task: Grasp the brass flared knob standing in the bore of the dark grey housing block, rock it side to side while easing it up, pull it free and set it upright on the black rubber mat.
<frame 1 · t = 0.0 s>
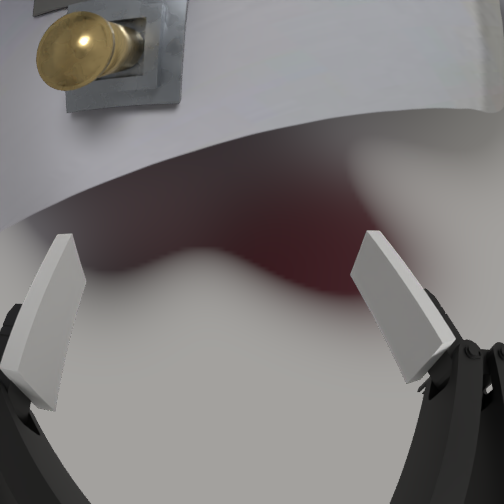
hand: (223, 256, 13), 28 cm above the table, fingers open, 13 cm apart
brass flared knob: (120, 49, 24), point 3 cm above the table, touching housing
housing: (126, 49, 27), on the table
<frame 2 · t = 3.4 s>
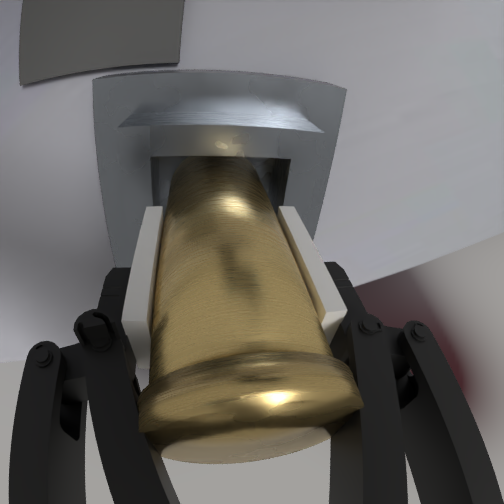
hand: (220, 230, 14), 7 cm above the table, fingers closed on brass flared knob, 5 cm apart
brass flared knob: (215, 190, 18), point 3 cm above the table, touching gripper, housing
housing: (212, 171, 20), on the table
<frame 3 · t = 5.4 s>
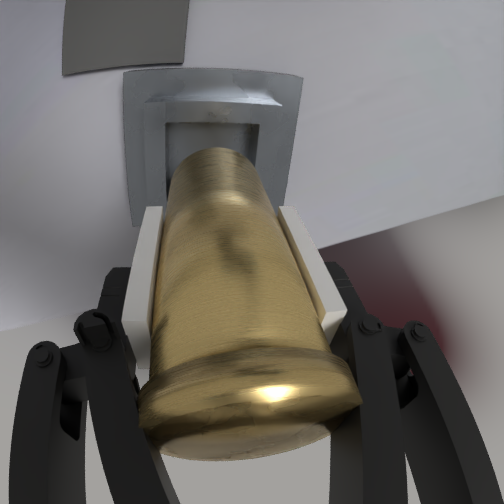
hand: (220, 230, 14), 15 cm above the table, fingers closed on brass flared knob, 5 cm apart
mat: (124, 8, 17), on the table
brass flared knob: (215, 190, 18), point 10 cm above the table, touching gripper
housing: (208, 142, 26), on the table
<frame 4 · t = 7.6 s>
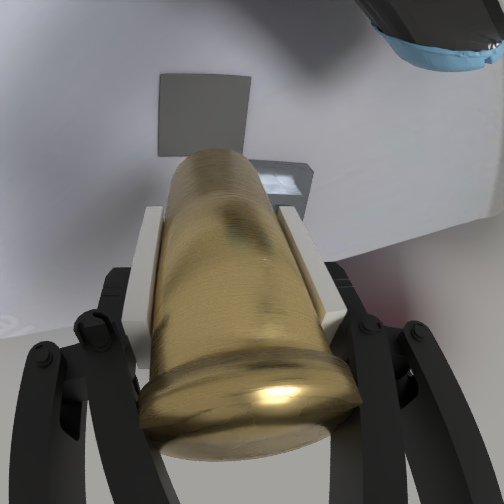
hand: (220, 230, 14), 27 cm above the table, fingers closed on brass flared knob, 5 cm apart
mat: (202, 115, 35), on the table
brass flared knob: (215, 190, 18), point 22 cm above the table, touching gripper
housing: (253, 204, 44), on the table
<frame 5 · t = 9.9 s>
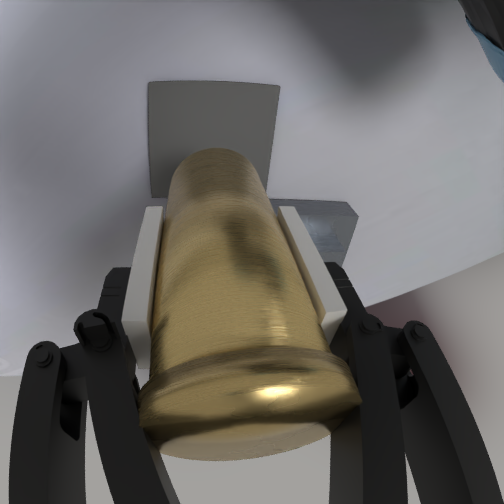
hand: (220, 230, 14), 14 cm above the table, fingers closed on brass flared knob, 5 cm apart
mat: (210, 140, 25), on the table
brass flared knob: (215, 190, 18), point 10 cm above the table, touching gripper
housing: (277, 253, 35), on the table
when the fingers open (6 cm above the table, at t = 11.8 s): brass flared knob drops 1 cm, resting on mat.
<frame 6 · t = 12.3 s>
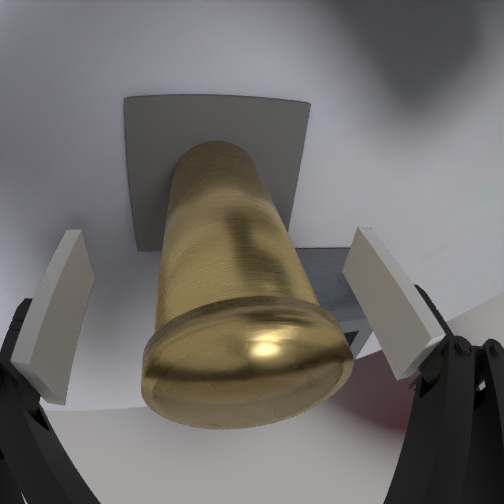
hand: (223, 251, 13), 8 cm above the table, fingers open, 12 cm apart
mat: (213, 177, 19), on the table
brass flared knob: (215, 181, 19), point 1 cm above the table, touching mat
housing: (294, 307, 28), on the table
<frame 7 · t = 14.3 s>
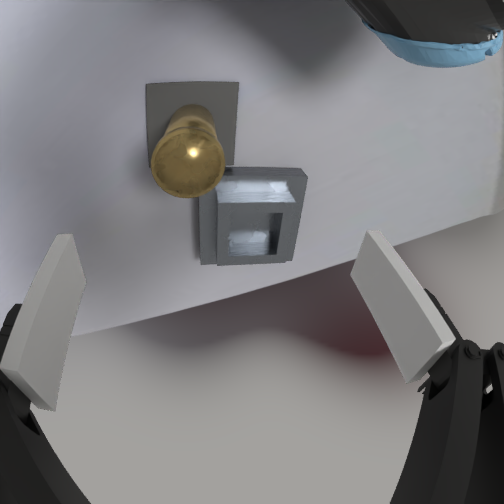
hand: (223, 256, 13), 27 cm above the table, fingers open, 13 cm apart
mat: (191, 123, 34), on the table
brass flared knob: (191, 124, 34), point 1 cm above the table, touching mat
housing: (247, 212, 43), on the table
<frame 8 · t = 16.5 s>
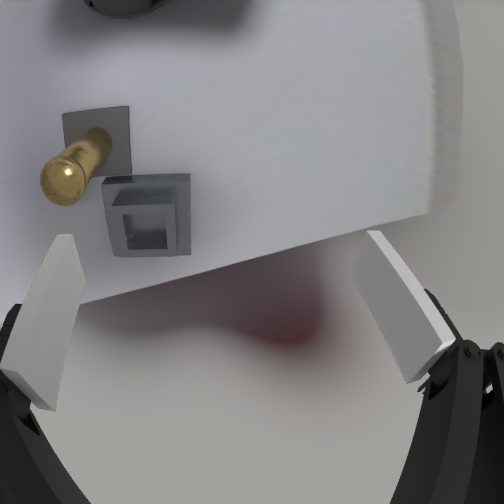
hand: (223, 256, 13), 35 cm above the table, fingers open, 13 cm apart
mat: (97, 142, 39), on the table
brass flared knob: (96, 143, 39), point 1 cm above the table, touching mat
housing: (149, 212, 49), on the table
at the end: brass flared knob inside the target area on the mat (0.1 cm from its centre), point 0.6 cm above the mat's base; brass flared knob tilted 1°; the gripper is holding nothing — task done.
